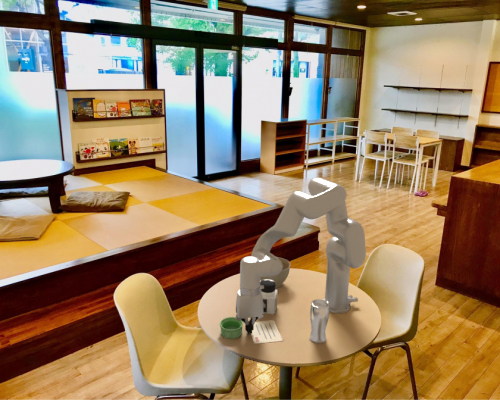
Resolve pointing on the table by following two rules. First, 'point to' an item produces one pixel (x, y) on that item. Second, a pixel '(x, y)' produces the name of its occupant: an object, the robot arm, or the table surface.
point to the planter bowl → (280, 274)
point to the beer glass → (319, 320)
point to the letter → (265, 332)
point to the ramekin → (231, 327)
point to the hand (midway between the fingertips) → (249, 331)
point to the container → (269, 296)
